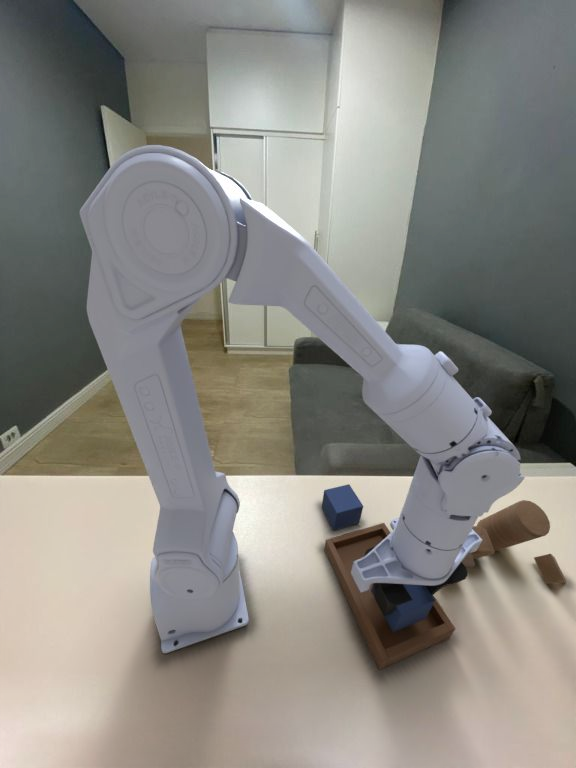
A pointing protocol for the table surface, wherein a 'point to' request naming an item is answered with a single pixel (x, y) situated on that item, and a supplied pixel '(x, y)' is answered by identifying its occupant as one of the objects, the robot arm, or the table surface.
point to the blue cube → (410, 607)
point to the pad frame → (366, 610)
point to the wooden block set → (516, 536)
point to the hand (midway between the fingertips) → (400, 598)
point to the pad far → (341, 507)
